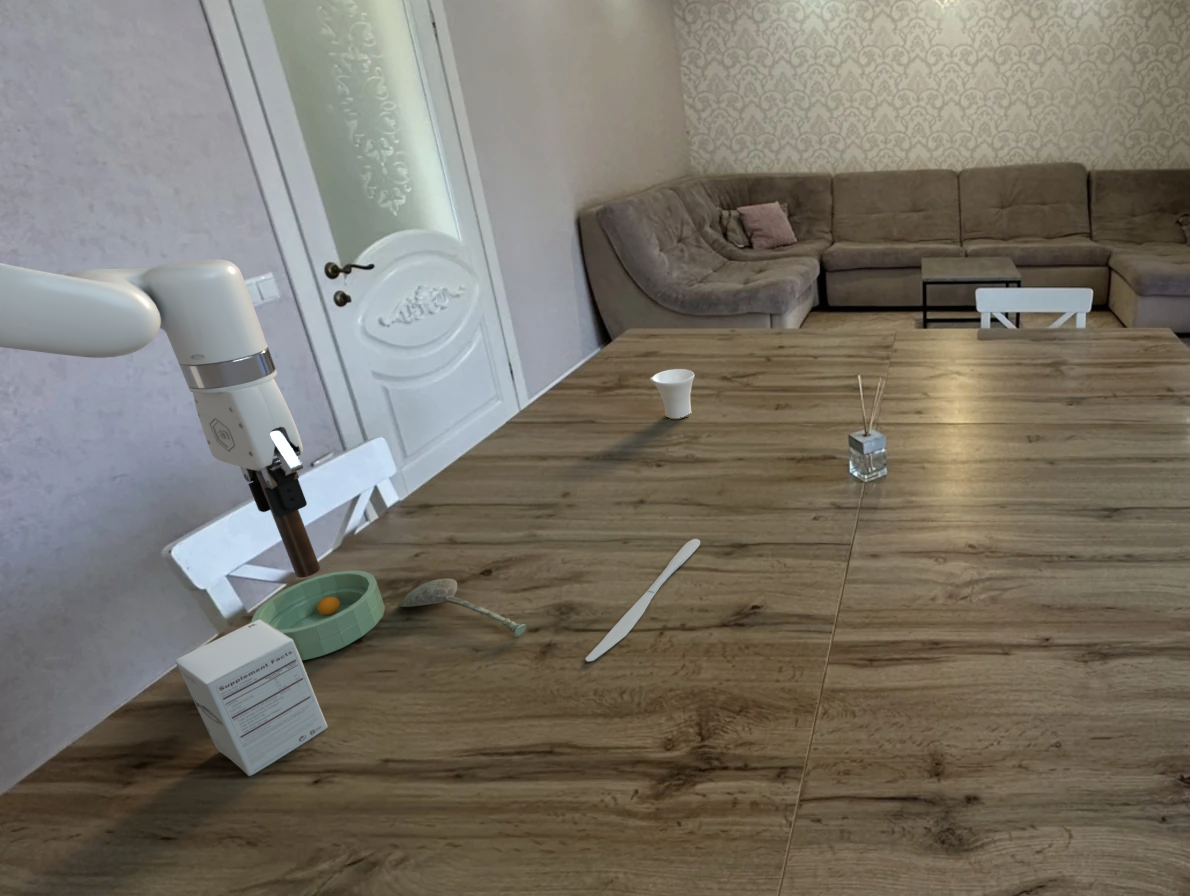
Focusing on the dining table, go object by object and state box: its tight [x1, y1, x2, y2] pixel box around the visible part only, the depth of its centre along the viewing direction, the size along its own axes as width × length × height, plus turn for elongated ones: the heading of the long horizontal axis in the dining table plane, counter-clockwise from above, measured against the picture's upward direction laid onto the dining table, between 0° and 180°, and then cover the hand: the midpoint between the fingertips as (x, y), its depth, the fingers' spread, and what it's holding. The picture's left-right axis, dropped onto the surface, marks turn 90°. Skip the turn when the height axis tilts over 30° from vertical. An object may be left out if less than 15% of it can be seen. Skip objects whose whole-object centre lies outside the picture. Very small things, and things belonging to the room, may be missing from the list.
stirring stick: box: [256, 464, 321, 579], centre depth 89 cm, size 2×2×15 cm
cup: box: [649, 368, 695, 418], centre depth 158 cm, size 9×9×10 cm
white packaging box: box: [174, 619, 328, 777], centre depth 76 cm, size 7×7×13 cm
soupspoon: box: [399, 578, 528, 638], centre depth 97 cm, size 22×3×7 cm
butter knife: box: [585, 538, 701, 663], centre depth 101 cm, size 1×27×3 cm
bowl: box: [250, 569, 386, 661], centre depth 94 cm, size 13×13×5 cm
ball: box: [317, 597, 340, 615], centre depth 96 cm, size 2×2×2 cm
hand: (283, 507), depth 88 cm, fingers closed on stirring stick, 2 cm apart
